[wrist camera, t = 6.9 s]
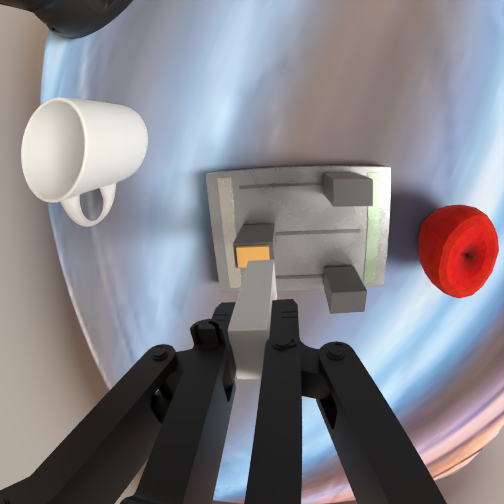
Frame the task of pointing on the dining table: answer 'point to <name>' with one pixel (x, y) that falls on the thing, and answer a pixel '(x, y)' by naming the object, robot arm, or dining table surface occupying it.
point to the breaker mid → (254, 244)
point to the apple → (458, 249)
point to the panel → (300, 223)
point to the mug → (81, 151)
